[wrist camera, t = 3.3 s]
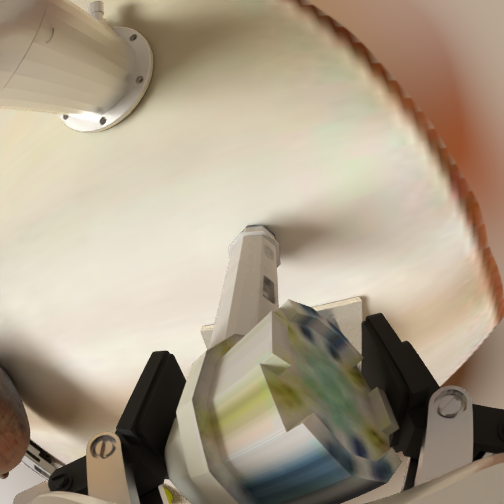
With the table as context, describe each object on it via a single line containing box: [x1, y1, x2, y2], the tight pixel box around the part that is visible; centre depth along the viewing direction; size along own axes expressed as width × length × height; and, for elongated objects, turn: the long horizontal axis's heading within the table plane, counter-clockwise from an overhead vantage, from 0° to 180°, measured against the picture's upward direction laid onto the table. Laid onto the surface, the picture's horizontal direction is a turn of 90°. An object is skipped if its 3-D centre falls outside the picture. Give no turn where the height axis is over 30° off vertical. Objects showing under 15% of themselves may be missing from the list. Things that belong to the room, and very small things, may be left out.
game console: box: [21, 441, 56, 481], centre depth 49 cm, size 21×32×8 cm, turn 53°
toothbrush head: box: [164, 225, 402, 504], centre depth 15 cm, size 5×7×25 cm
